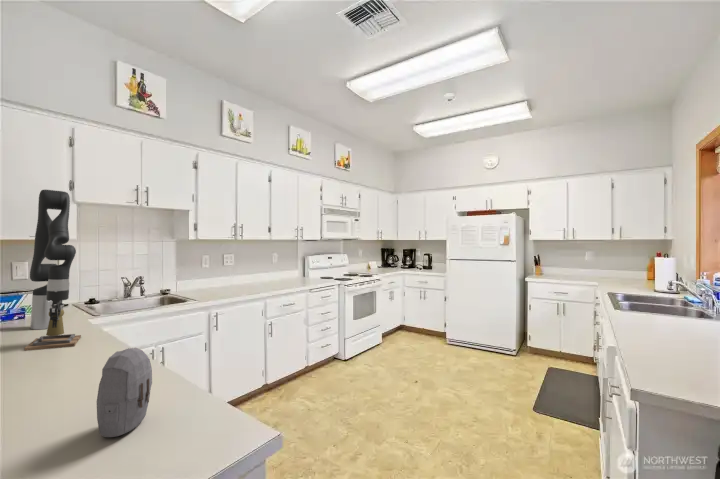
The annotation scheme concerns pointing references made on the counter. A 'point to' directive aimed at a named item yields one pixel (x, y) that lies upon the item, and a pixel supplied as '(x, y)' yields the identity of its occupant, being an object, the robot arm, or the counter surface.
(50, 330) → the cork
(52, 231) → the robot arm
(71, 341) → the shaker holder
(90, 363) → the counter surface
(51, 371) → the counter surface
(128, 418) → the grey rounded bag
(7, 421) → the counter surface
